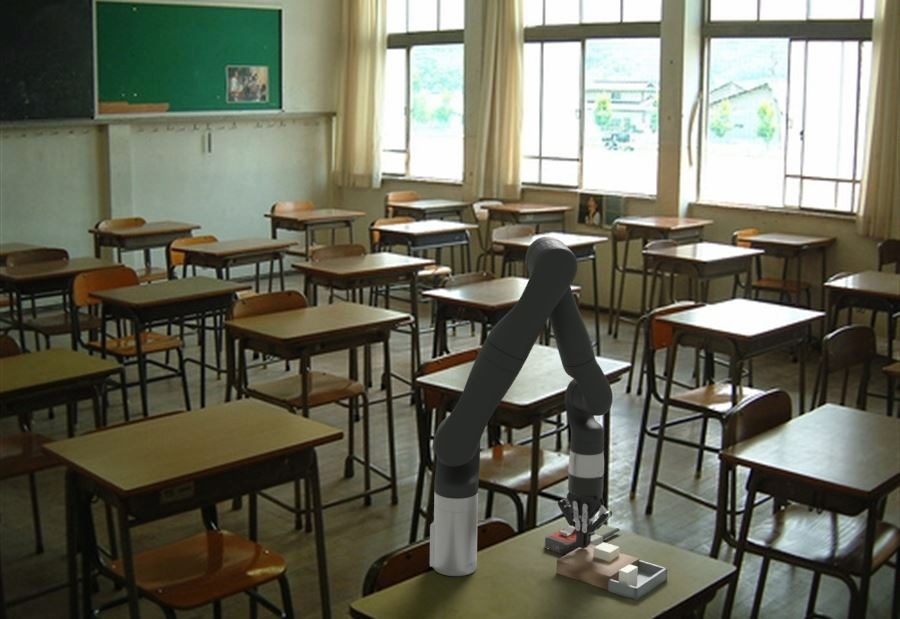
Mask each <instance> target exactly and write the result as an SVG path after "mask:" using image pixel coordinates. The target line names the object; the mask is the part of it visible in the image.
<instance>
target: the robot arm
mask: <svg viewBox="0 0 900 619" xmlns="http://www.w3.org/2000/svg"><path fill="white" fill-rule="evenodd" d="M525 265H526V269H527V272H528V273H529V275H530V276H529V279H528V280H527V283H526V286H525V287H524V289H523V291H522V294H521V295H520V297H519V299H518V300H517V302H516V304H515V305H514V306H513V307H512V308H511V309H510V310H509V311H508V312H507V313H506V314H505V315H504V316H503V317H502V318H500V320H499V321H498V322H496V324H495V325H494V326H493V328H491V330H490V331H489V333H488V335H487V336H486V339H485V340H484V343H483V344H482V345H481V348H480V350H479V352H478V353H477V355H476V357H475V360H474V363H473V365H472V367H471V369H470V372H469V375H468V376H467V379H466V383H465V385H464V388H463V391H462V393H461V395H460V397H459V400H458V401H457V403H456V405H455V406H454V408H453V410H451V412H450V414H449V415H448V416H446V417H445V418H444V419H443V420H442V421H441V422H440V423H439V425H438V427H437V430H436V432H435V435H434V437H433V450H434V454H435V456H436V466H435V467H436V468H435V474H434V488H433V489H434V492H433V493H434V497H433V498H434V500H433V501H434V502H433V504H434V507H433V508H434V510H433V511H434V512H433V517H434V518H433V522H431V524H430V525H429V535H430V536H429V567H430V568H431V567H432V568H433V569H434V571H435V572H437V573H439V574H441V575H444V576H449V577H462V576H466V575H467V576H468V575H470V574H473V573H474V572H475V571H476V570H477V563H478V561H477V557H478V554H477V553H478V516H479V515H478V514H479V512H478V508H479V507H478V506H479V482H480V469H481V468H480V467H481V466H480V464H481V461H480V460H481V439H482V436H483V434H484V432H485V430H486V427H487V425H488V423H489V421H490V419H491V417H492V415H493V413H494V412H495V410H496V409H497V407H498V406H499V404H500V403H501V402H502V400H503V399H504V398H505V396H506V394H507V393H508V392H509V390H510V388H511V386H512V385H513V383H514V382H515V381H516V379H517V377H518V376H519V374H520V372H521V370H522V368H523V367H524V365H525V363H526V361H527V359H528V358H529V356H530V353H531V352H532V349H533V348H534V346H535V344H536V342H537V340H538V338H539V336H540V335H541V333H542V331H543V328H544V326H545V325H546V323H547V321H548V319H549V322H550V326H551V330H552V333H553V336H554V340H555V344H556V347H557V351H558V354H559V358H560V360H561V365H562V367H563V368H562V369H564V371H565V373H566V374H567V375H568V376H569V377H571V378H572V380H570V382H569V383H568V384H567V387H566V390H565V394H564V402H565V409H566V414H567V420H568V424H569V427H570V432H571V433H570V450H569V457H568V458H569V459H568V472H567V473H568V474H567V475H568V478H567V490H568V493H567V495H566V497H565V498H563V499H561V500H559V501H558V502H557V506H558V507H559V510H560V511H561V513H562V514H563V517H564V519H565V520H566V521H567V523H568V525H570V526H573V527H575V529H576V543H577V544H578V547H580V548H586V547H588V545H590V543H591V532H594V531H596V530H599V529H600V528H601V527H602V526H603V525H604V524H605V523H606V522H607V521H609V519H610V518H611V517H612V515H613V511H612V510H610V509H609V510H607V508H606V507H605V506H604V504H605V502H604V500H603V492H604V479H605V478H604V474H605V457H604V454H605V453H604V448H605V446H604V445H605V443H604V442H605V431H604V427H603V426H602V425H601V424H600V423H599V422H598V421H597V420H596V418H595V417H600V416H604V415H606V414H607V413H608V412H609V410H610V409H611V408H612V404H613V400H614V399H613V397H614V396H613V391H612V387H611V384H610V382H609V380H608V379H607V377H606V375H605V373H604V371H603V369H602V367H601V366H600V365H599V363H598V361H597V358H596V355H595V351H594V348H593V344H592V341H591V337H590V335H589V331H588V329H587V327H586V324H585V321H584V318H583V317H582V315H581V312H580V310H579V307H578V305H577V302H576V299H575V297H574V294H573V290H572V287H571V285H572V284H573V283H574V280H575V278H576V275H577V273H578V268H579V266H578V260H577V258H576V255H575V254H574V253H573V251H572V250H571V249H570V248H569V247H568V246H567V245H566V244H565V243H564V242H563V241H561V240H560V239H558V238H555V237H553V236H552V237H551V236H541V237H538V238H536V239H534V241H532V243H531V244H530V245H529V246H528V248H527V250H526V253H525ZM597 513H598V518H597V519H596V515H597ZM595 519H596V520H595Z"/></svg>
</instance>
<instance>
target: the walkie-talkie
mask: <svg viewBox="0 0 900 619" xmlns="http://www.w3.org/2000/svg"><path fill="white" fill-rule="evenodd" d="M595 531H596V530H595ZM595 531H594V532H591V543H590V544H592V545H595V546H598V545H599V544H601V543H603V542H604V540H605V539H608V538H609V537H612V536H613V535H614V534H616V533H618V532H620V528H619V527H616V528H614V529H611V530H610V531H608V532H606V533H604V534H600V535H599V534H596V532H595ZM545 547H547V548H549V549H552V550H554V551H553V552H555V551H557V552H556V553H558V552H559V553H558V554H560V553H561V554H562V555H563V554H568V553H570V552H572V551H574V550H575V549H577V548H579V547H578V544H577V543H576V529H575V527H573V526H570V525H569V524H568V525H566V526H565V528H562V529H561V530H558V531H555V532H554V533H552V534H549V535H547V536H545V537H544V548H545ZM549 549H548V550H549ZM552 550H551V551H552ZM561 554H560V555H561Z"/></svg>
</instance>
